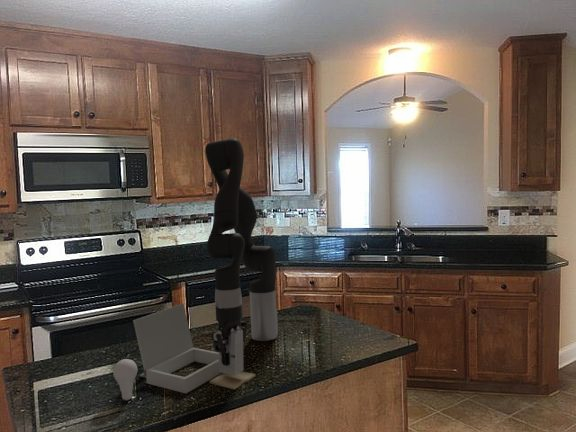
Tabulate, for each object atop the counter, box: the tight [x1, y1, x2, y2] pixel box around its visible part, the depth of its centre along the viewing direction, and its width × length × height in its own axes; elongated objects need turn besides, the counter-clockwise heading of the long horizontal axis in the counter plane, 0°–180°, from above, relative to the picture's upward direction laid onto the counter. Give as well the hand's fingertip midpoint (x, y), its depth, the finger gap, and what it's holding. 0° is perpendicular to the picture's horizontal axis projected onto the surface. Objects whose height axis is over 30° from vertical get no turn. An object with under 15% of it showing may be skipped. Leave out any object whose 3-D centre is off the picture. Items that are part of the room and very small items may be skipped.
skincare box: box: [219, 330, 244, 375], centre depth 140 cm, size 6×4×12 cm
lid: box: [132, 303, 194, 371], centre depth 149 cm, size 20×14×1 cm
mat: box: [208, 370, 256, 390], centre depth 140 cm, size 10×9×1 cm
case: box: [145, 347, 223, 394], centre depth 145 cm, size 20×15×4 cm
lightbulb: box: [112, 358, 138, 401], centre depth 129 cm, size 6×6×11 cm
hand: (231, 361), depth 140 cm, fingers closed on skincare box, 4 cm apart
